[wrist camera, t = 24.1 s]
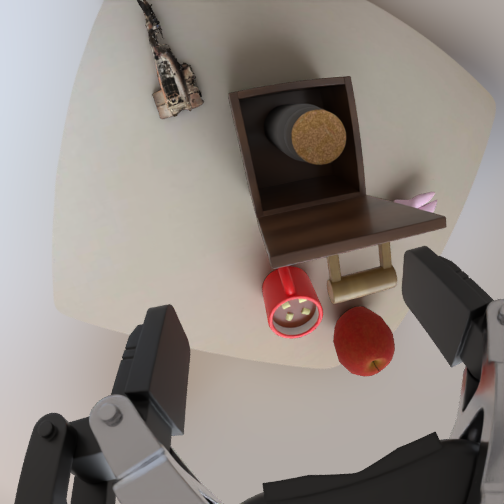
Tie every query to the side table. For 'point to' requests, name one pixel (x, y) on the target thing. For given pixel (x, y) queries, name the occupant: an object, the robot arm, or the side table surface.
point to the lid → (345, 239)
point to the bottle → (306, 133)
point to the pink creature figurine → (420, 202)
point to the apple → (363, 341)
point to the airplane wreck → (170, 74)
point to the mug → (291, 302)
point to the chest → (286, 168)
